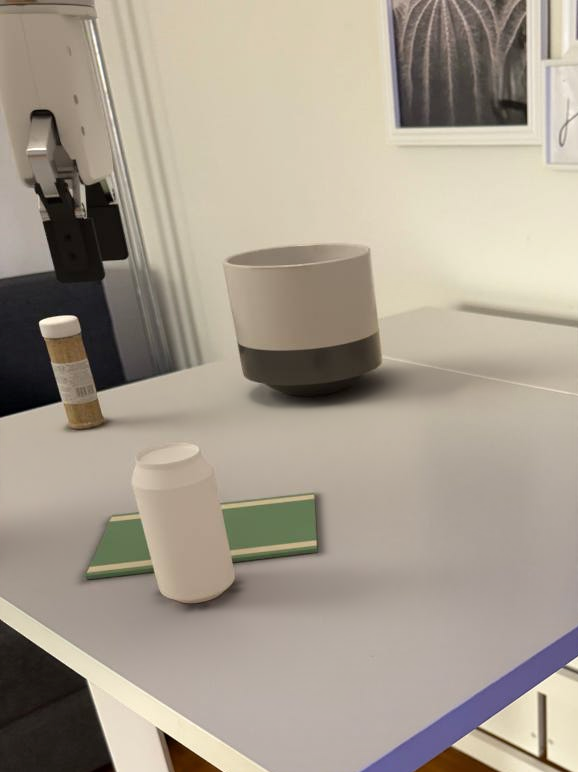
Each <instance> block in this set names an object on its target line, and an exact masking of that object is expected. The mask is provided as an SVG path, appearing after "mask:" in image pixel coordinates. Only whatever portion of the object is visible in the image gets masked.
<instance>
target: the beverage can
mask: <svg viewBox="0 0 578 772" xmlns="http://www.w3.org/2000/svg"><path fill="white" fill-rule="evenodd" d="M134 461H135V466H134V470H133V474H132V478H131V486H132V490H133V493H134V498H135V502H136V505H137V508H138V512H139V514H140V517H141V521H142V525H143V529H144V533H145V537H146V541H147V545H148V549H149V553H150V556H151V560H152V564H153V568H154V572H153V573H154V575H155V579H156V583H157V587H158V589H159V590H158V591H159V592H160V593H161V595H162V596H164V597H165V598H168V599H170V600H175V601H177V602H179V603H182V604H197V603H198V604H199V603H204V602H208V601H211V600H213V599H215V598H217V597H219V596H220V595H222V594H223V593H225V591H226V590H227V589H228V588H230V586H231V585H233V583H234V582H235V578H236V577H235V569H234V564H233V563H234V562H232V558H231V553H230V548H229V543H228V538H227V533H226V529H225V524H224V519H223V514H222V509H221V504H220V503H221V500H220V495H219V491H218V486H217V481H216V476H215V470H214V468H213V466H212V465H211V464H210V462H209V461H208V460H207V459H206V458H205V456H204V455H203V454H202V452H201V448H200V446H198V445H197V444H193V443H189V442H173V443H164V444H160V445H159V444H158V445H155V446H152V447H149V448H146V449H143V450H141V451H140V452H138V453H137V454H136V455H135V457H134Z"/></svg>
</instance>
